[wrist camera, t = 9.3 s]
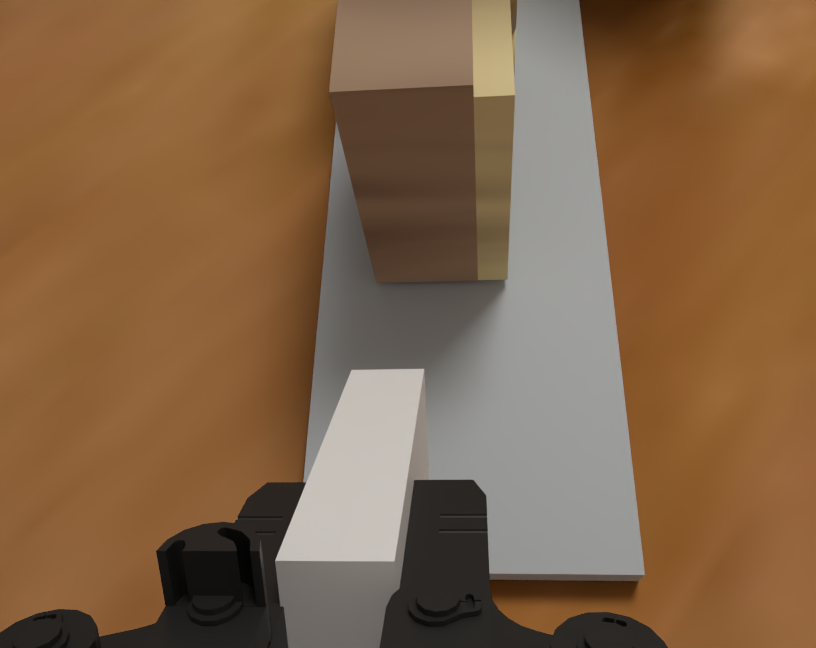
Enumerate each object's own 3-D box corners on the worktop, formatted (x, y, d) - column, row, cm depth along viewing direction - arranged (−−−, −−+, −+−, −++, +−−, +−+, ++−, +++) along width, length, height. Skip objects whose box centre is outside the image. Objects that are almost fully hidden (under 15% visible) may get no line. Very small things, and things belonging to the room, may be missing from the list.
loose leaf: (525, 279, 26) (541, 81, 18) (376, 282, 27) (329, 92, 19) (513, 56, 31) (521, -176, 23) (387, 62, 32) (353, -163, 24)
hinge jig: (638, 581, 23) (736, 480, 14) (302, 578, 24) (189, 481, 15) (567, -63, 36) (593, -322, 27) (356, -49, 37) (314, -296, 28)
